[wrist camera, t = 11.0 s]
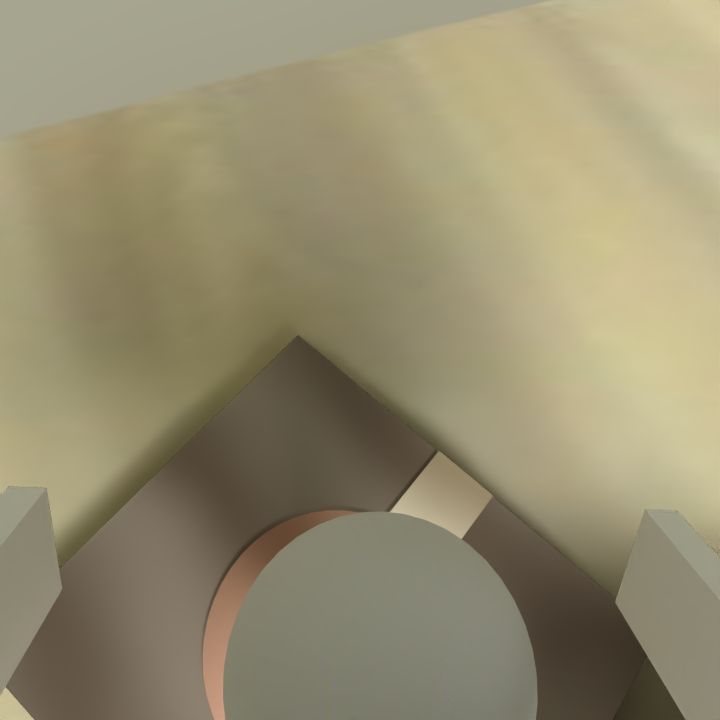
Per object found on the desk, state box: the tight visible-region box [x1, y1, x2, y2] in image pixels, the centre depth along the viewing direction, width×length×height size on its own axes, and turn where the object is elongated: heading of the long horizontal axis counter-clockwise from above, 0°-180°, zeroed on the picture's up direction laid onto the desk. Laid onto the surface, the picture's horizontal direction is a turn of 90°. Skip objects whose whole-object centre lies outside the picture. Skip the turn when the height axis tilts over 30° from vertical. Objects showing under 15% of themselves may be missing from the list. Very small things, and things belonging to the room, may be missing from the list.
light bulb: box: [223, 511, 538, 720], centre depth 13 cm, size 6×6×10 cm
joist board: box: [6, 336, 647, 720], centre depth 18 cm, size 14×16×1 cm
